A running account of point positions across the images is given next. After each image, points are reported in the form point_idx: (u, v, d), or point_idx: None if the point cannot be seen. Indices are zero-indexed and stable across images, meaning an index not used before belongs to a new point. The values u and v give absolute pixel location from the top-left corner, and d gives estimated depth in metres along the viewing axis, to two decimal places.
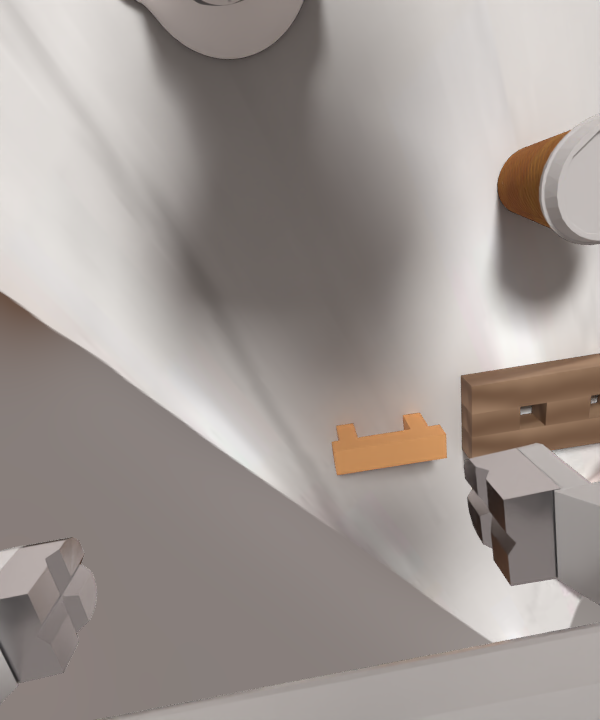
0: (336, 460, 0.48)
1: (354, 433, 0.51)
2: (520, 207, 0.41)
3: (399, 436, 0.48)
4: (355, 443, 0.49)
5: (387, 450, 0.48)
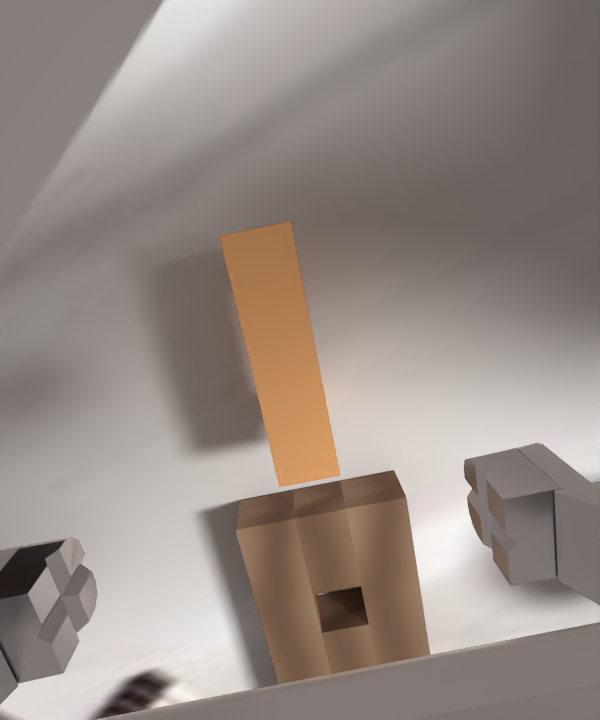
0: (265, 230, 0.19)
1: None
2: None
3: None
4: None
5: (295, 356, 0.20)
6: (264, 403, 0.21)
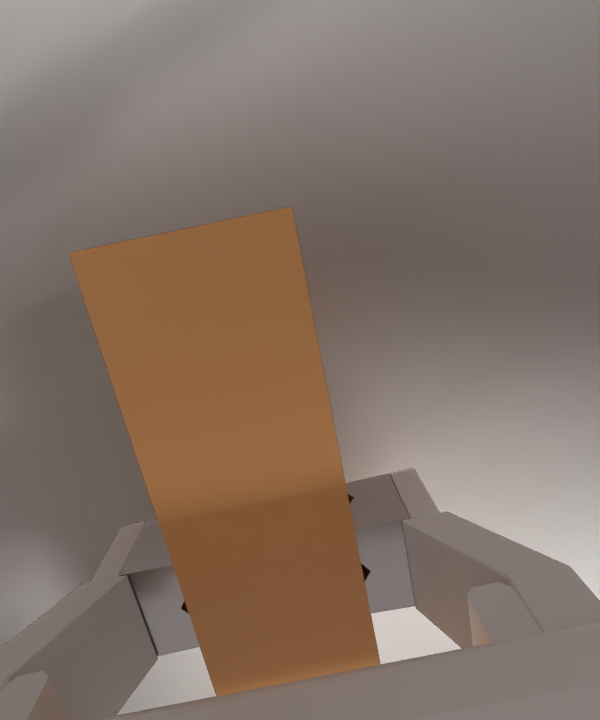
0: (212, 235, 0.06)
1: None
2: None
3: None
4: None
5: (306, 573, 0.07)
6: (224, 681, 0.08)
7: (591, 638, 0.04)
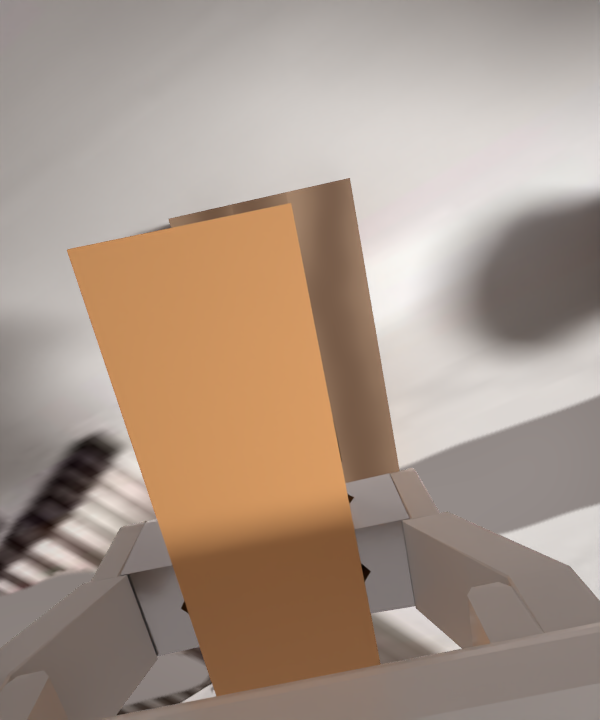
0: (211, 231, 0.06)
1: None
2: None
3: None
4: None
5: (306, 571, 0.07)
6: (223, 679, 0.08)
7: (591, 638, 0.04)
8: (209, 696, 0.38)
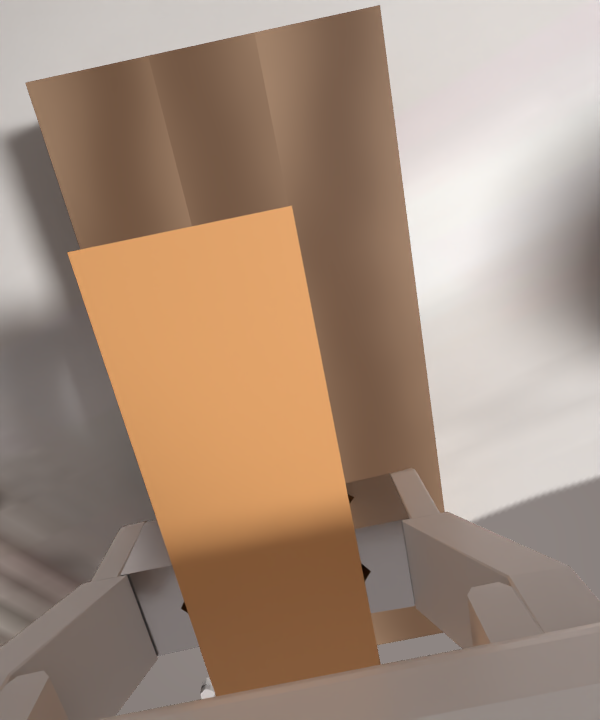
0: (212, 234, 0.06)
1: None
2: None
3: None
4: None
5: (307, 574, 0.07)
6: (224, 682, 0.08)
7: (591, 638, 0.04)
8: None
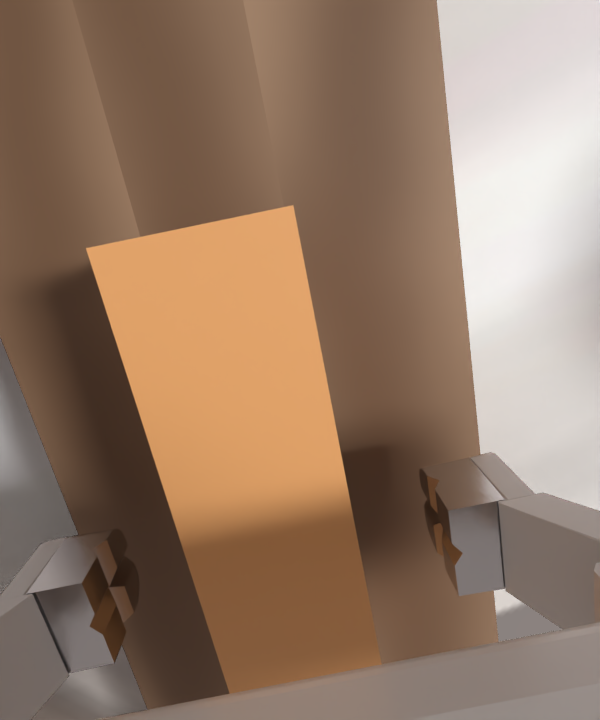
0: (219, 231, 0.06)
1: None
2: None
3: None
4: None
5: (307, 551, 0.08)
6: (229, 654, 0.08)
7: (591, 638, 0.04)
8: None
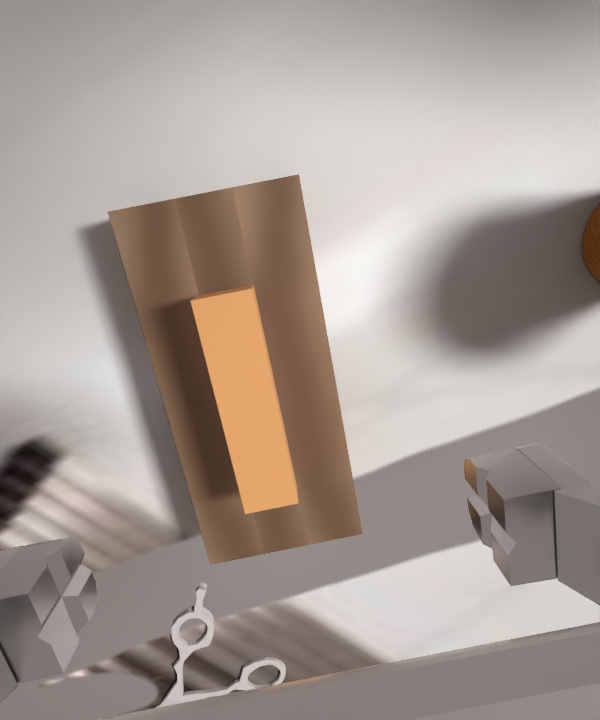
0: (230, 296, 0.22)
1: None
2: None
3: (281, 419, 0.24)
4: (262, 334, 0.23)
5: (258, 401, 0.23)
6: (231, 441, 0.24)
7: (591, 638, 0.04)
8: None
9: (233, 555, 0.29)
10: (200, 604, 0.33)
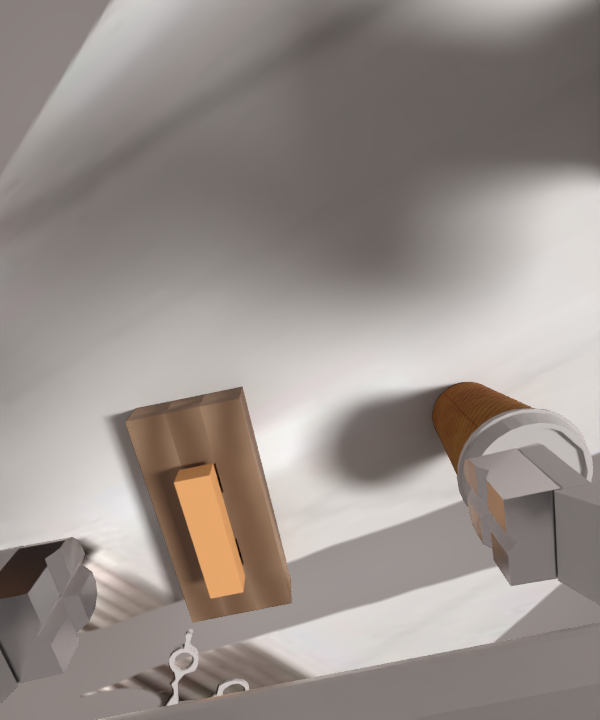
0: (196, 479, 0.37)
1: (218, 481, 0.41)
2: (462, 404, 0.37)
3: (231, 541, 0.40)
4: (218, 494, 0.39)
5: (215, 535, 0.39)
6: (200, 557, 0.39)
7: (591, 639, 0.04)
8: None
9: (207, 616, 0.44)
10: (188, 643, 0.49)
